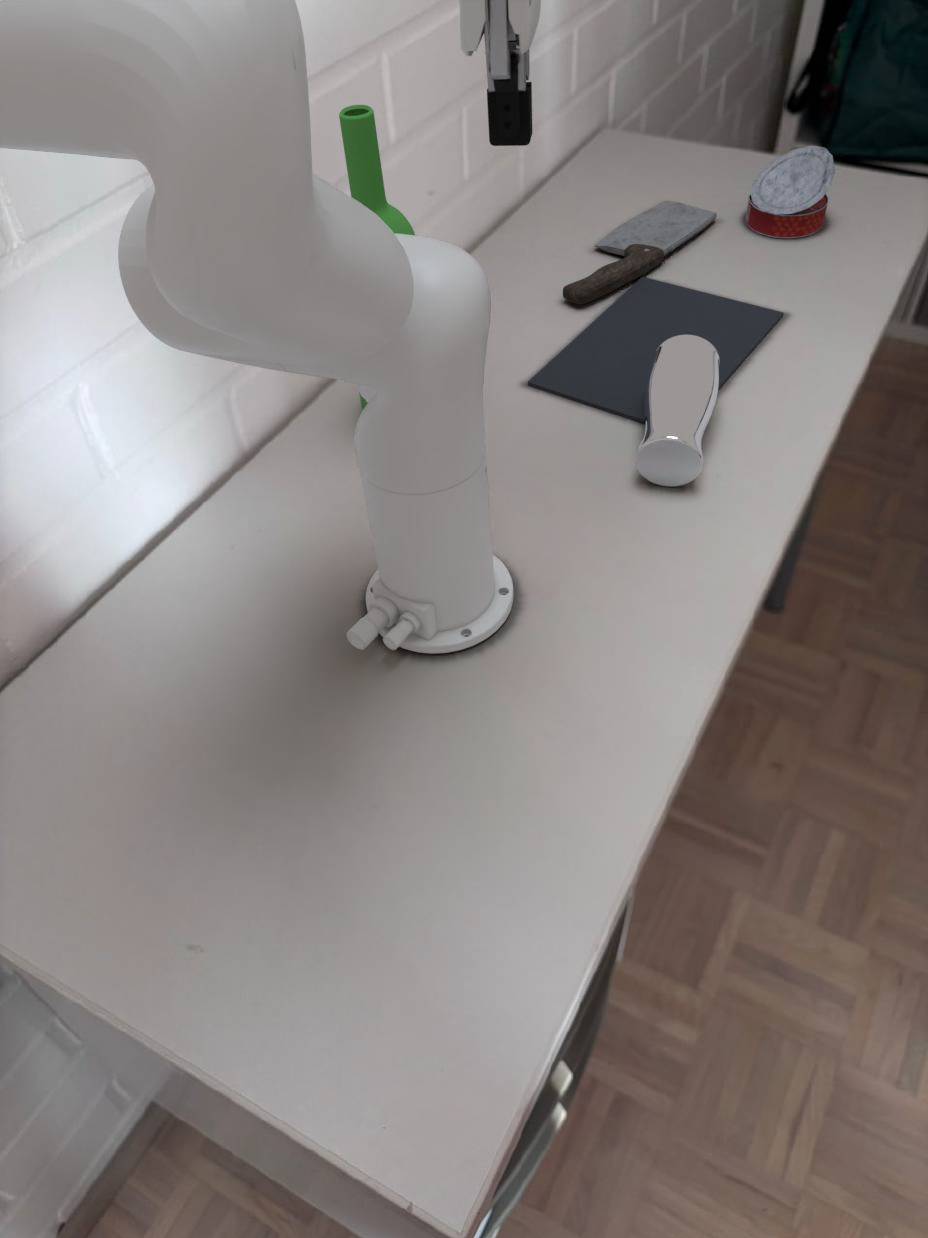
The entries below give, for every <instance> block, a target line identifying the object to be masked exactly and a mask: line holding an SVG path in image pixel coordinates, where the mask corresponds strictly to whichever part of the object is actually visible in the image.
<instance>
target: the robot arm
mask: <svg viewBox="0 0 928 1238" xmlns="http://www.w3.org/2000/svg"><path fill="white" fill-rule="evenodd" d="M541 4H542V0H459V29H460V30H459V31H460V32H459V33H460V35H459V36H460V49H461V51H462V52H463V54H464V55H465V56H466V57H472V56H473V54H474V52H477V50H478V48H479V46H480V44H481V42H482V39H483V38H484V50H485V52H484V53H485V62H486V63H485V65H486V78H487V89H486V96H487V97H486V99H487V100H486V101H487V120H488V121H487V122H488V137H489V138H488V141H489V144H490V145H491V146H493V147H510V146H511V147H513V146H514V147H517V146H519V147H520V146H529V145H530V143H531V140H532V137H533V91H532V89H533V88H532V87H533V85H532V81H529V80H530V48H531V47H532V43H533V41H534V38H535V36H536V32H537V29H538V26H539V25H538V24H539V21H540V16H541V7H542V5H541ZM305 45H306V43H305V36H304V30H303V26H302V21H301V16H300V13H299V8H298V6H297V2H296V0H0V149H8V150H19V151H20V150H21V151H31V152H32V151H33V152H43V153H44V152H45V153H54V154H65V155H67V154H68V155H77V156H78V155H80V156H89V157H98V158H108V159H120V160H134V161H138V162H140V163H141V164H142V165H143V166H144V167H145V169H146V170H147V172H148V173H149V174H150V177H151V180H152V184H151V185H149V186H148V187H147V188H145V190H143V192H142V193H140V194H139V196H138V197H137V198H136V199H135V200H134V202H133V204H132V205H131V206H130V208H129V209H128V211H127V214H126V216H125V218H124V221H123V224H122V226H121V230H120V235H119V239H118V246H117V247H118V249H117V252H118V253H117V259H118V260H117V261H118V270H119V271H118V272H119V277H120V280H121V284H122V285H121V286H122V287H123V292H124V294H125V297H126V299H127V301H128V303H129V305H130V307H131V310H132V311H133V313H134V314H135V316H136V317H137V319H138V320H139V322H140V323H141V325H142V326H143V327H144V328H145V329H146V330H147V331H148V332H149V333H150V334H151V335H152V336H153V337H155V338H156V339H157V340H159V341H160V342H161V343H163V344H164V345H166V346H168V347H169V348H172V349H175V350H178V351H180V352H185V353H189V354H193V355H194V354H195V355H199V356H203V357H208V358H213V359H217V360H222V361H226V362H230V363H236V364H241V365H245V366H251V367H257V368H261V369H266V370H271V371H279V372H284V373H289V374H291V373H292V374H297V375H303V376H310V377H317V378H323V379H330V380H338V381H343V382H346V383H351V384H356V385H357V384H361V385H365V386H368V387H370V388H372V389H374V390H375V391H376V392H377V393H376V394H375V395H374V396H373V397H372V399H371V400H370V401H369V402H368V404H367V405H366V406H365V408H364V410H362V411H361V413H360V415H359V417H358V419H357V422H356V425H355V429H354V436H353V438H354V439H353V446H354V451H355V452H354V453H355V458H356V464H357V468H358V471H359V476H360V482H361V488H362V492H363V493H362V494H363V497H364V503H365V508H366V513H367V520H368V524H369V529H370V534H371V540H372V545H373V549H374V556H375V560H376V565H377V569H376V570H375V572H374V573H373V574H372V575H371V577H370V580H369V582H368V584H367V587H366V592H365V605H366V606H365V608H366V611H367V613H366V614H365V615H364V616H363V617H361V618H360V619H358V621H357V622H355V623H354V625H352V626H351V627H350V628H349V629H348V630H347V632H346V633H345V635H346V639H347V640H348V642H349V643H350V644H351V645H352V646H353V647H354V648H356V649H358V650H361V651H363V650H365V649H366V648H367V647H368V646H369V645H370V644H371V643H372V642H373V641H374V640H375V639H376V638H377V637H378V636H379V635H380V636H381V637H382V642H383V644H384V645H385V646H386V648H388V649H389V650H391V651H396V650H397V649H398V648H401V649H404V650H408V651H411V652H416V653H422V654H432V655H433V654H447V653H448V654H449V653H453V652H458V651H462V650H465V649H467V648H471V647H473V646H476V645H477V644H479V643H482V642H483V641H485V640H487V639H488V638H489V637H491V636H492V635H494V633H496V632H497V631H498V630H499V629H500V628H501V627H502V626H503V625H504V624H505V622H506V621H507V618H508V617H509V615H510V613H511V611H512V609H513V608H512V607H513V604H514V603H513V602H514V585H513V584H514V583H513V579H512V576H511V574H510V571H509V569H508V568H507V566H506V565H505V564H504V562H503V561H502V560H501V559H500V558H499V557H497V556H496V555H495V554H493V539H492V538H493V537H492V524H491V523H492V522H491V509H490V494H489V478H488V464H487V450H486V438H485V437H486V435H485V417H484V383H485V366H486V357H487V349H488V341H489V333H490V324H491V311H492V297H491V289H490V284H489V279H488V277H487V275H486V272H485V270H484V268H483V267H482V266H481V264H480V262H478V260H476V258H475V257H474V256H472V255H471V254H470V253H469V252H467V251H465V250H464V249H462V248H461V247H459V246H457V245H454V244H452V243H450V242H446V241H443V240H439V239H436V238H432V237H427V236H420V235H416V234H415V235H407V234H397V233H393V231H392V230H391V229H390V228H389V227H388V226H387V225H386V224H385V223H384V221H383V220H382V219H381V218H380V217H379V216H378V215H377V214H375V213H374V212H373V211H371V210H370V209H368V208H367V207H366V206H364V205H363V204H361V203H360V202H359V201H357V200H355V199H354V198H352V197H351V195H349V194H347V193H345V192H344V191H342V190H341V189H339V188H337V186H335V185H333V184H332V183H330V182H329V181H327V180H325V179H323V178H322V177H320V175H317V173H314V172H313V156H312V155H313V153H312V130H311V129H312V128H311V127H312V126H311V112H310V111H311V110H310V109H311V108H310V96H309V95H310V93H309V79H308V69H307V54H306V46H305Z"/></svg>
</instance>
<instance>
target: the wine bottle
mask: <svg viewBox="0 0 928 1238" xmlns="http://www.w3.org/2000/svg"><path fill="white" fill-rule="evenodd" d="M338 118H339V126H340V130H341V137H342V144H343V153H344V158H345V164H346V172H347V177H348V185H349V192H350V197H352V198H354V199H355V200H357V201H359V202H360V203H361V204H363V205H364V206H366V207H367V208H368V209H370V210H371V211H373V212H374V213H375V214H377V215H378V216H379V217H380V218H381V219H382V220H383V221H384V223H385V224H386V225H387V226H388V227H389V228H390V229H391V230H392V231H393V233H397V234H407V235H416V233H415V231H414V228H413V226H412V225H411V222H410V221H409V220H408V219H407V217H406V216H405V215H404V213H402V212H401V211H400V210H399V209H398V208H397V207H395V206H394V205H392V204H390V203H389V202H388V200H387V196H386V189H385V184H384V176H383V169H382V161H381V155H380V147H379V141H378V133H377V126H376V119H375V112H374V109H373V107H371V106H369V105H366V104H353V105H349V106H346V107H343V109H341V110H340V111H339V114H338ZM356 386H357V390H358V394H359V400H360V406H361V410H362V411H363V410H364V408H365V406H366V405H367V404H368V402H369V401H370V400H371V399H372V397H373V396H374V395H375V394H376V393H377V392H376V391H375V390H374V389H372V388H370V387H368V386H365V385H361V384H356Z"/></svg>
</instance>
